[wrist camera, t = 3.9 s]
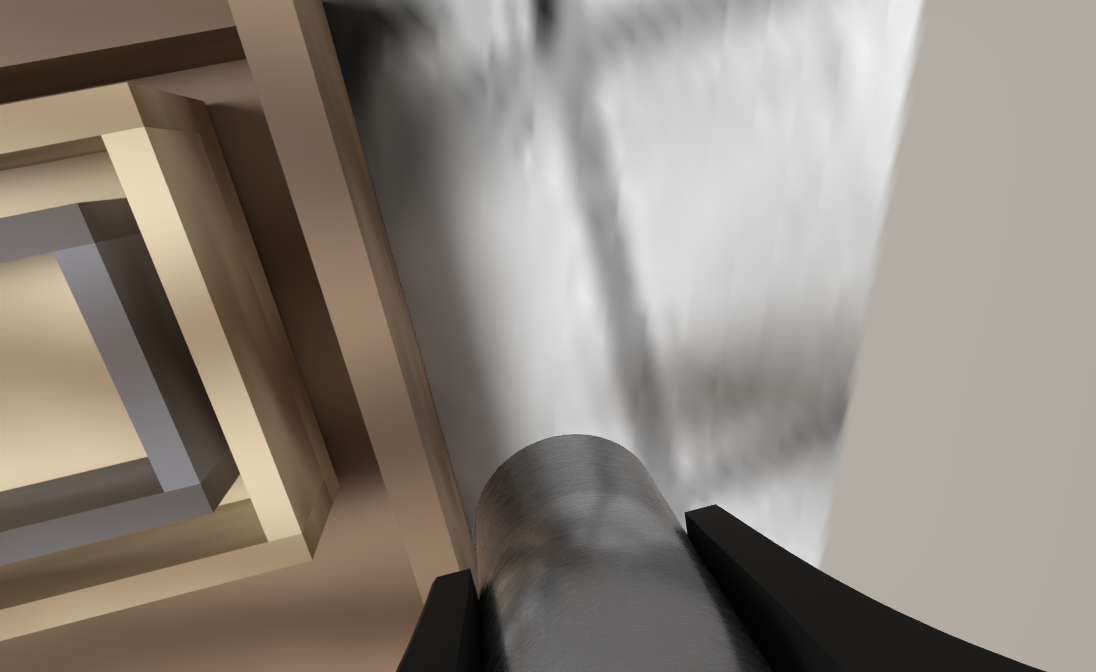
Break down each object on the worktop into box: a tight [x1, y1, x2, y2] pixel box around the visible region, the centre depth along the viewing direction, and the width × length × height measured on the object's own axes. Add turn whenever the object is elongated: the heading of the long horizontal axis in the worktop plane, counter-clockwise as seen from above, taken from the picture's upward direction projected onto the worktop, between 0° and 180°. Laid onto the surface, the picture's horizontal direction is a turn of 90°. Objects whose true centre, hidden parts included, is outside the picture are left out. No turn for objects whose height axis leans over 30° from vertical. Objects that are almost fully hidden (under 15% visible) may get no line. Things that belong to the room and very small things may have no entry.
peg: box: [475, 434, 773, 672], centre depth 10 cm, size 4×4×6 cm
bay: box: [0, 0, 479, 672], centre depth 16 cm, size 22×21×4 cm
